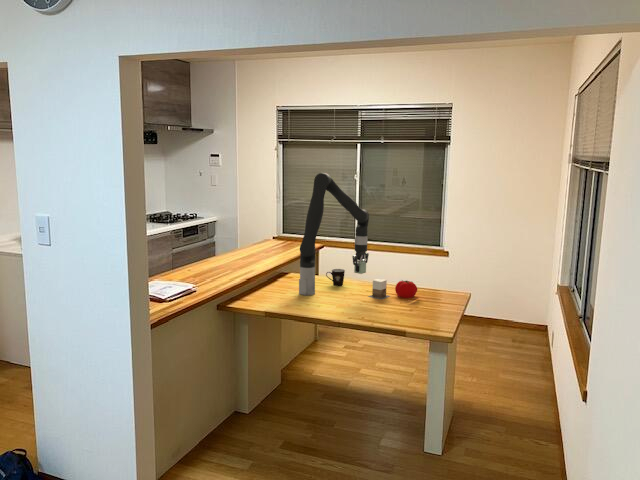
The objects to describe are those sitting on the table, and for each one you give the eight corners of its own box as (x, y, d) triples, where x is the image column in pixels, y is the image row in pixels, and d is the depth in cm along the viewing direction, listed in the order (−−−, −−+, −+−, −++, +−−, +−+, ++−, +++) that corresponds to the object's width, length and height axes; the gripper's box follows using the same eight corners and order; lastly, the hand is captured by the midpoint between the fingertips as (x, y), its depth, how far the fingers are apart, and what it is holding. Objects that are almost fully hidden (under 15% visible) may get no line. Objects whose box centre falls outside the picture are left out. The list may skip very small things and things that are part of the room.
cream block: (380, 290, 316) (381, 281, 315) (372, 288, 320) (372, 280, 319) (386, 288, 321) (386, 280, 320) (378, 286, 325) (378, 278, 324)
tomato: (391, 298, 320) (392, 281, 318) (398, 293, 331) (399, 277, 329) (413, 301, 314) (414, 284, 312) (419, 296, 325) (420, 279, 323)
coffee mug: (347, 284, 352) (347, 269, 351) (340, 287, 345) (340, 272, 344) (331, 282, 358) (332, 267, 357) (325, 284, 351) (325, 270, 350)
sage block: (361, 274, 317) (361, 264, 316) (354, 272, 320) (354, 262, 319) (365, 272, 321) (366, 262, 320) (359, 271, 324) (359, 261, 323)
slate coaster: (381, 300, 314) (381, 299, 314) (367, 297, 321) (367, 296, 321) (390, 297, 322) (390, 296, 322) (376, 294, 328) (376, 293, 328)
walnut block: (380, 298, 317) (380, 290, 316) (372, 296, 321) (372, 288, 320) (386, 296, 322) (386, 288, 321) (377, 294, 325) (378, 286, 325)
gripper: (359, 245, 310) (358, 274, 312) (373, 242, 321) (372, 270, 323) (348, 243, 314) (347, 272, 317) (362, 241, 325) (361, 268, 328)
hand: (360, 270), depth 320 cm, fingers closed on sage block, 5 cm apart
